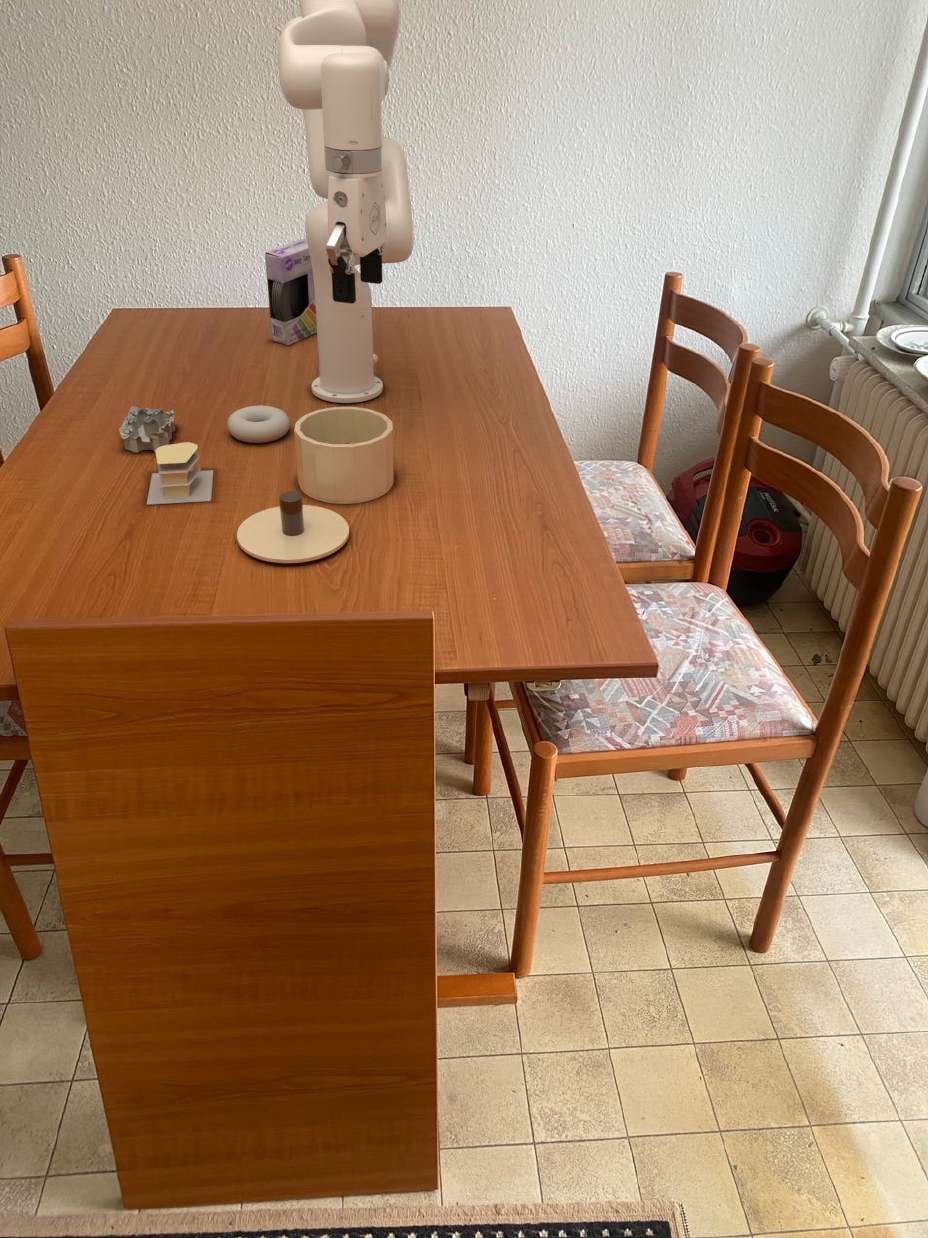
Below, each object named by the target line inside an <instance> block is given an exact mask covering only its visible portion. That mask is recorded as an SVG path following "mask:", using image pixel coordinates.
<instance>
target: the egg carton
mask: <svg viewBox="0 0 928 1238" xmlns="http://www.w3.org/2000/svg"><path fill="white" fill-rule="evenodd" d="M175 416H176V415H175V411H174V410H173V409H170V410H169V411H165V410H164V409H163V408H162V407H160V408H158V409H157V408H153V407H150V408H149V407H146V406H145V407H144V408H142V407H137V406H133V405H131V406H130V408H129V411H128V414H127V415H126V416H125V417H124V420H123V422H122V424H121V426H120V427H119V428H118V432H119V434H120V436H121V438H122V439H123V444H124V449H125V450H128V451H130V452H132V453H133V454H135V453H136V454H138V453H140V452H142V451H146V450H147V451H150V450H151V451H153V453H156V452H155V450H156V449H157V448H159V447H161V446H165V445H170V442H171V441H172V440H173V432H176V426H175V424H174V422H175Z"/></svg>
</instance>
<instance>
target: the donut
mask: <svg viewBox="0 0 928 1238" xmlns="http://www.w3.org/2000/svg"><path fill="white" fill-rule="evenodd" d="M290 426H291V421H290V418H289V416H288V414H287V413H286V412H285V411H284V410H282V409H280V408H278V407H275V406H269V405H250V406H246V407H242V408H240V409H236V410H235V411H234V412H233V413H232V414H230V416H229V418H228V419H227V422H226V427H227V430H228V433H229V434H230V435H231V436H232V437H233V438H235V439H236V440H237V441H241V442H244V443H250V444H261V443H262V444H263V443H270V442H273V441H277V440H278V439H281V438H282V437H284V436H285V435H286V434H287V433H288V431H289V429H290Z"/></svg>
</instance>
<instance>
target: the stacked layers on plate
mask: <svg viewBox="0 0 928 1238" xmlns="http://www.w3.org/2000/svg"><path fill="white" fill-rule="evenodd" d="M197 450H198V444H197V443H193V442H190V441H185V442H178V443H173V444H169V445H165V446H161V447H159V448H157V449H156V450H155V452H154V453H155V456H156V464H157V469H158V472H154V473H153V472H152V473H151V478H150V484H149V489H148V494H147V500H146V505H162V504H164V505H166V504H183V503H200V502H201V503H202V502H211V501H212V494H213V493H212V491H213V479H214V478H213V477H214V469H211V470H209V469H208V470H201V465H200V464H198V460H199V458H200V453H199V452H197Z"/></svg>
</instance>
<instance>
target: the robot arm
mask: <svg viewBox="0 0 928 1238" xmlns="http://www.w3.org/2000/svg"><path fill="white" fill-rule="evenodd" d="M400 13H401V12H400V5H399V0H300V15H299V16H297V17H294V18H292V19H291V20H289V21H288V22H287V23H286V24H285V25H284V27H283V30H282V34H281V36H280V39H279V43H278V47H277V66H278V75H279V82H280V88H281V91H282V95H283V97H284V99H285V101H286V102H287V104H289V105H290V106H291V107H293V108H295V109H298V110H301V112H302V115H303V121H304V130H305V142H306V152H307V153H306V154H307V161H308V162H307V163H308V164H307V165H308V171H309V178H310V183H311V187H312V189H313V191H314V193H315V195H317V196H318V197H320V198H322V199H325V200H327V202H326V203H321V204H319V205H316V206H314V207H312V209H310V210H309V212H308V213H307V215H306V218H305V223H304V225H305V226H304V227H305V238H307V243H308V248H309V253H310V258H311V264H312V270H313V279H314V290H315V306H316V322H317V333H316V337H317V353H318V370H319V371H318V373H319V376H318V377H317V378H315V379H314V380H313V381H312V382H311V384H310V385H311V386H310V387H311V393H312V395H314V396H315V397H317V398H318V399H320V400H323V401H325V402H331V403H337V404H356V403H363V402H367V401H370V400H373V399H375V398H377V397H379V396H380V395H381V394H382V393H383V390H384V385H383V381H382V380H381V378H379V377H377V376H376V375H375V369H374V366H375V364H377V363H378V361H379V357H378V355H377V354H376V353H374V336H373V335H374V333H373V332H374V331H373V301H372V300H373V299H372V298H373V297H372V291H371V287H370V285H369V284H376V285H381V284H382V283H383V264H396V263H404V262H405V261H407V260H408V259H409V258H410V257H411V255H412V254H413V249H414V238H415V237H414V222H413V214H412V203H411V194H410V183H409V174H408V173H409V172H408V166H407V159H406V155H405V152H404V149H403V147H402V145H401V144H400V142H398V141H397V140H396V139H394V138H392V137H388V136H383V131H382V128H383V126H382V125H383V124H382V103H383V101H384V99H385V96H387V95H388V92H389V88H390V87H389V85H390V84H389V83H390V74H389V70H390V68H391V66H392V63H393V59H394V55H395V51H396V50H395V49H396V44H397V40H398V35H399V31H400V29H399V28H400V22H401V21H400V17H401V16H400V15H401V14H400ZM356 266H359V270H358V269H357V268H356Z"/></svg>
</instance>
